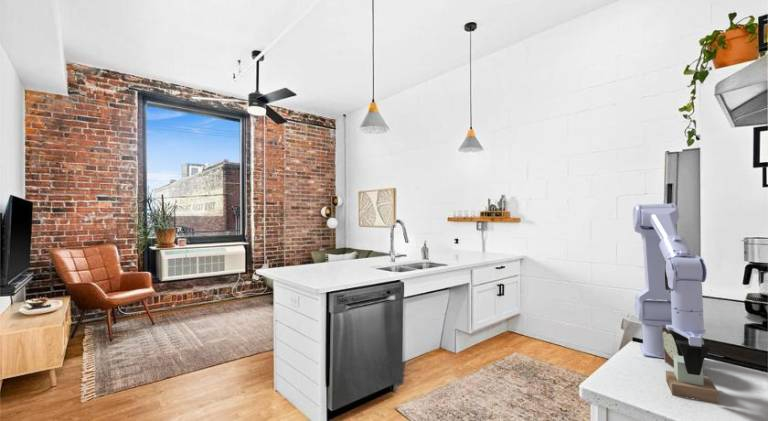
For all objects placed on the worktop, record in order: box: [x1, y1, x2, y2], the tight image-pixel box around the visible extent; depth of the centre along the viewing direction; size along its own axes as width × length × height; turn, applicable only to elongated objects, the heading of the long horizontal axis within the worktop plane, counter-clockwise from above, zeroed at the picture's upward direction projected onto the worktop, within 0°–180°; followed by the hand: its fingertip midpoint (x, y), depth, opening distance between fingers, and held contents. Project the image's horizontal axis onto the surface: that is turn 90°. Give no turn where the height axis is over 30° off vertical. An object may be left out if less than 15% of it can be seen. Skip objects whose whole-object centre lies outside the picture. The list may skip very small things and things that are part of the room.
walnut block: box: [665, 370, 720, 404], centre depth 84 cm, size 8×8×3 cm
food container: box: [661, 325, 705, 369], centre depth 95 cm, size 12×6×10 cm, turn 168°
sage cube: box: [673, 355, 704, 386], centre depth 85 cm, size 4×4×4 cm
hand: (689, 367), depth 84 cm, fingers open, 7 cm apart
